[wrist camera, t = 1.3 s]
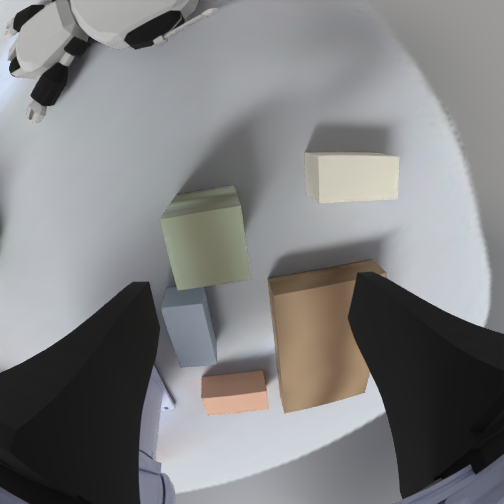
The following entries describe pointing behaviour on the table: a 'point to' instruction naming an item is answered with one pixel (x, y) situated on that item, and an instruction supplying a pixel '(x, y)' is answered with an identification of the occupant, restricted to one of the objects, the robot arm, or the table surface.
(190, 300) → the slate brick
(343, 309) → the walnut slab
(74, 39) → the robot toy
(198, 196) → the sage block
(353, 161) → the cream brick
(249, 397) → the terracotta brick
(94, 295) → the table surface
